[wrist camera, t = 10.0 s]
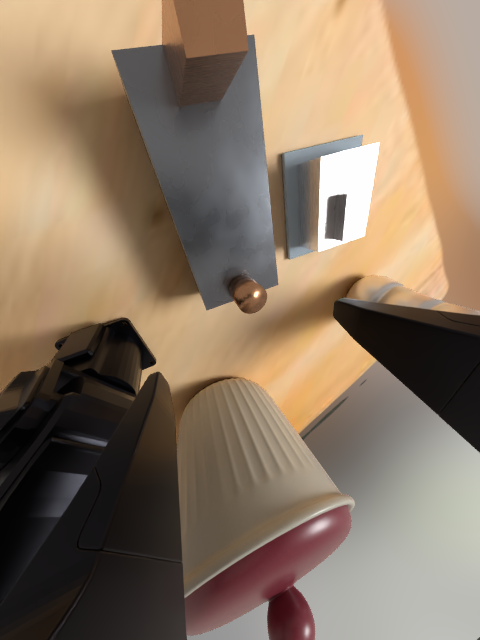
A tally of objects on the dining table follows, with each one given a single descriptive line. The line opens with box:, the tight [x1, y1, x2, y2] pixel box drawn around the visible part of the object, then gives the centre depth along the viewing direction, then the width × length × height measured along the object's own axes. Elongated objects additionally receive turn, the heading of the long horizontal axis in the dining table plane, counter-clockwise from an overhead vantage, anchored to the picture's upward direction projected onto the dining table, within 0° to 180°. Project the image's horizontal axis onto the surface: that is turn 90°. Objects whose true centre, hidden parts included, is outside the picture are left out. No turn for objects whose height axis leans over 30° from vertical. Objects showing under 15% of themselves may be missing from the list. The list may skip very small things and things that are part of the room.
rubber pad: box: [282, 135, 363, 259], centre depth 19 cm, size 9×8×1 cm
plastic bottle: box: [346, 275, 480, 315], centre depth 19 cm, size 6×7×20 cm
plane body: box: [112, 0, 278, 314], centre depth 13 cm, size 14×7×8 cm, turn 13°
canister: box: [177, 378, 355, 640], centre depth 21 cm, size 18×18×21 cm
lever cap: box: [298, 142, 380, 252], centre depth 17 cm, size 7×5×4 cm
